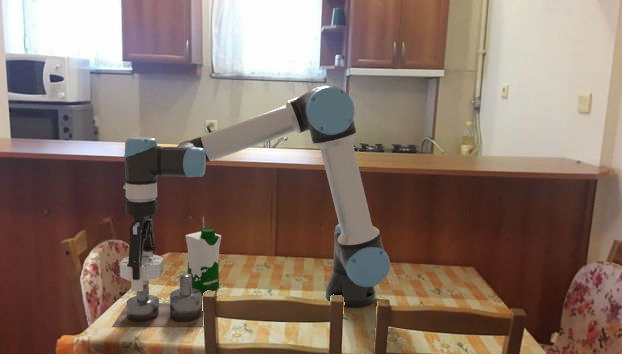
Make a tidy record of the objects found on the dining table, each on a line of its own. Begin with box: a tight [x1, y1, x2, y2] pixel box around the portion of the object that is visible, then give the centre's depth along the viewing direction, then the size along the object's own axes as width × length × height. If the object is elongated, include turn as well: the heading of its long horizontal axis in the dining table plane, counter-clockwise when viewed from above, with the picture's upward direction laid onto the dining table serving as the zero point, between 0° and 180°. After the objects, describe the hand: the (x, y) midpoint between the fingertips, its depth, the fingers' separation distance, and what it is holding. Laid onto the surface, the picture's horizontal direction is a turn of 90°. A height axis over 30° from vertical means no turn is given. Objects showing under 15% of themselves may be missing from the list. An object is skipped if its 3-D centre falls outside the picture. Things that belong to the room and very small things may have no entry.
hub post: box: [126, 280, 160, 322], centre depth 126 cm, size 8×8×10 cm
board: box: [111, 302, 204, 328], centre depth 128 cm, size 14×24×2 cm, turn 95°
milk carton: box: [185, 227, 222, 295], centre depth 145 cm, size 9×9×20 cm
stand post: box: [169, 273, 202, 322], centre depth 127 cm, size 8×8×11 cm
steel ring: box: [119, 253, 165, 282], centre depth 125 cm, size 10×10×4 cm
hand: (142, 282), depth 125 cm, fingers closed on steel ring, 10 cm apart
